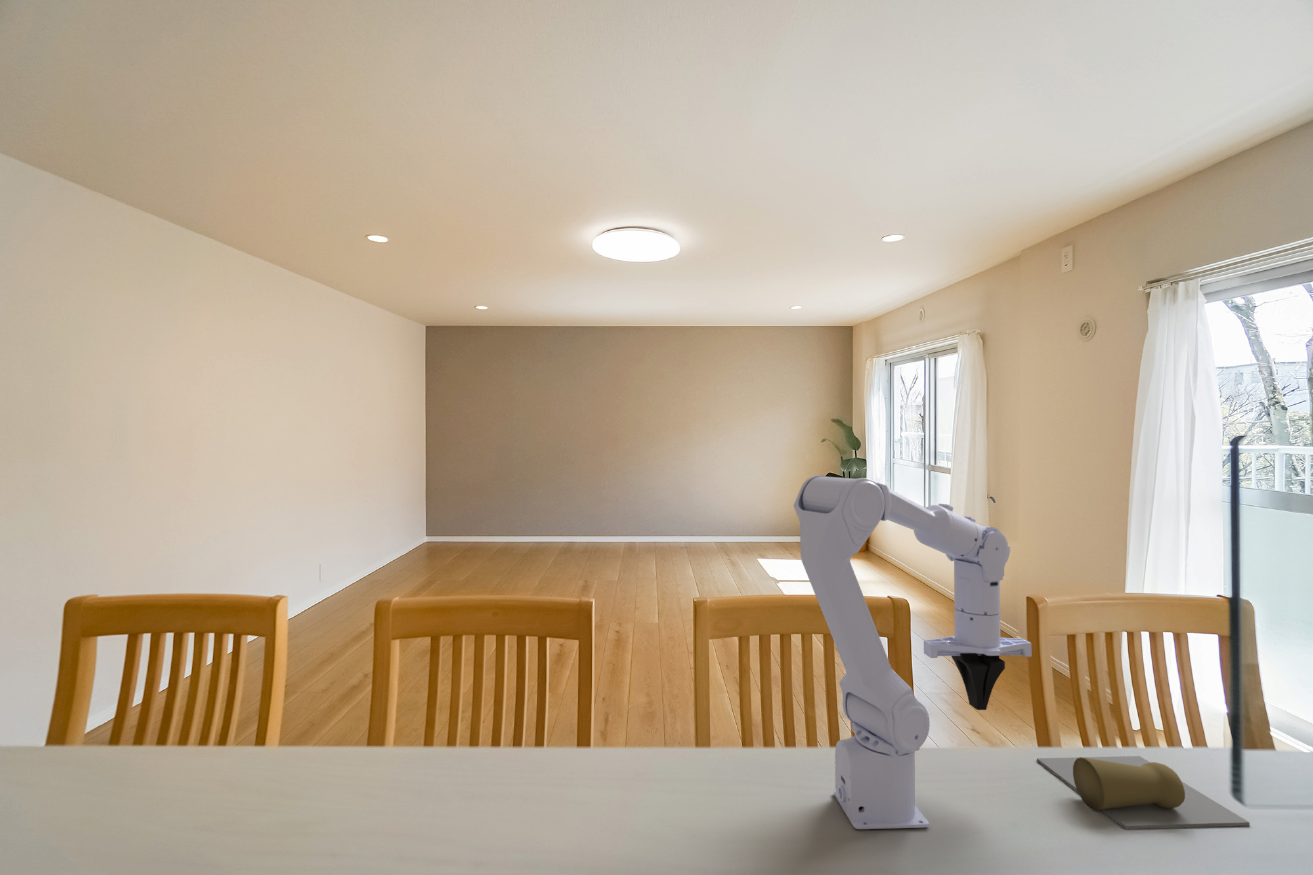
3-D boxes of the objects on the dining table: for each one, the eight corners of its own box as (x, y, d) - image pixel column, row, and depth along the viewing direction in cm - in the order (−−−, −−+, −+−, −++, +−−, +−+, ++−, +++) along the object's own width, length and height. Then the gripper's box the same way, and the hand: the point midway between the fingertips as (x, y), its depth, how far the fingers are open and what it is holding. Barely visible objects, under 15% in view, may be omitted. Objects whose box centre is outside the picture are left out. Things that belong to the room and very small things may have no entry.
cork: (1106, 818, 75) (1197, 821, 74) (1101, 766, 76) (1190, 768, 75) (1075, 798, 80) (1159, 800, 80) (1070, 750, 82) (1153, 752, 81)
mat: (1125, 828, 73) (1125, 825, 73) (1036, 760, 89) (1036, 758, 89) (1249, 825, 74) (1249, 822, 74) (1139, 758, 90) (1139, 755, 90)
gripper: (941, 618, 80) (942, 720, 80) (1046, 617, 81) (1047, 718, 80) (916, 604, 87) (916, 698, 87) (1012, 603, 88) (1013, 696, 87)
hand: (977, 706), depth 84 cm, fingers closed
